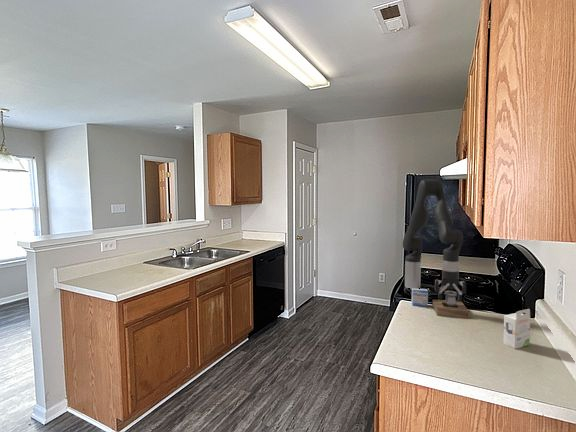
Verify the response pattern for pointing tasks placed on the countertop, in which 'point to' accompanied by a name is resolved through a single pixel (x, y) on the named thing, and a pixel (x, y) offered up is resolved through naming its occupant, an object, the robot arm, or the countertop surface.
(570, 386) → the countertop surface
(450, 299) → the cylinder
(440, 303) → the jig
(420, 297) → the medicine box
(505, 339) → the ink box
